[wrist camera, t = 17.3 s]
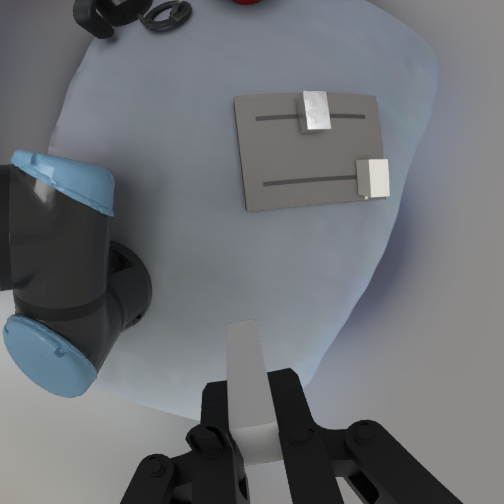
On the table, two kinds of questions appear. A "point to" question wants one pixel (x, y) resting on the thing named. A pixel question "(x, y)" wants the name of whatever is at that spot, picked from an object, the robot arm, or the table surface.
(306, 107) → the fader
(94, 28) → the milk frother
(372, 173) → the fader
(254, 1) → the plastic cup
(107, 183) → the robot arm
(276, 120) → the slider panel
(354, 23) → the table surface
